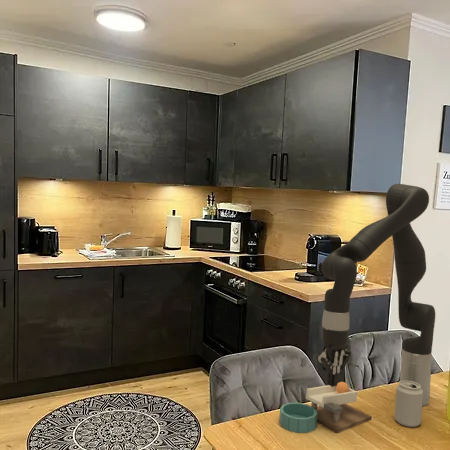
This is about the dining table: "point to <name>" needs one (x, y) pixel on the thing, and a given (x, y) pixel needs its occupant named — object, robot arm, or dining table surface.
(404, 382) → the can
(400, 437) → the dining table surface
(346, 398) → the cream shallow tray
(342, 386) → the ball
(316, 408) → the stand
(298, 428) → the teal round bowl
